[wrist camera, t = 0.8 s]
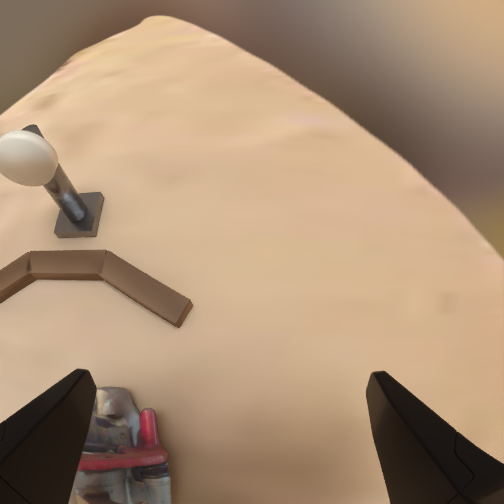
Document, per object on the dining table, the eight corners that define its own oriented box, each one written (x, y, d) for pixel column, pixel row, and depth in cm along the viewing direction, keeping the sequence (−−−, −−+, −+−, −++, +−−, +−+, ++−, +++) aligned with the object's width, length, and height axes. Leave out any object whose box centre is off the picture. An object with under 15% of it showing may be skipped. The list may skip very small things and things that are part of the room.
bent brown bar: (207, 604, 13) (205, 613, 11) (-36, 525, 11) (-45, 527, 10) (194, 256, 25) (192, 248, 24) (-34, 258, 24) (-42, 252, 23)
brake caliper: (164, 348, 20) (128, 498, 8) (193, 458, 22) (191, 582, 11) (25, 350, 19) (-61, 449, 7) (72, 453, 21) (34, 554, 10)
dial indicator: (100, 236, 26) (33, 135, 15) (54, 237, 26) (-21, 149, 14) (109, 197, 28) (57, 92, 16) (64, 201, 27) (3, 107, 16)
